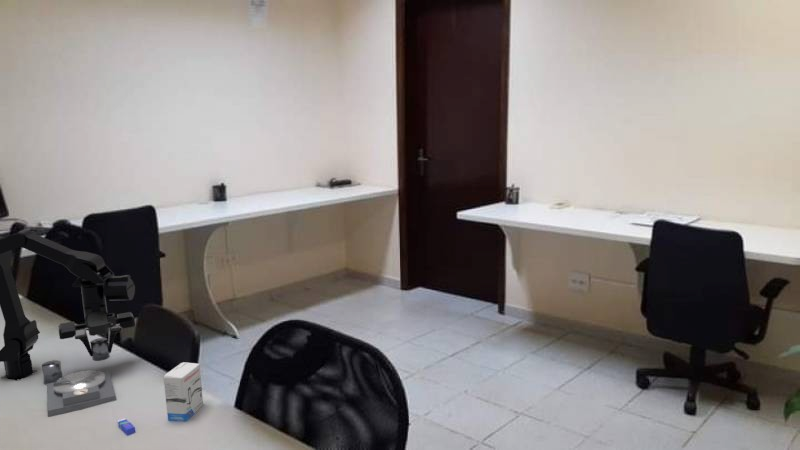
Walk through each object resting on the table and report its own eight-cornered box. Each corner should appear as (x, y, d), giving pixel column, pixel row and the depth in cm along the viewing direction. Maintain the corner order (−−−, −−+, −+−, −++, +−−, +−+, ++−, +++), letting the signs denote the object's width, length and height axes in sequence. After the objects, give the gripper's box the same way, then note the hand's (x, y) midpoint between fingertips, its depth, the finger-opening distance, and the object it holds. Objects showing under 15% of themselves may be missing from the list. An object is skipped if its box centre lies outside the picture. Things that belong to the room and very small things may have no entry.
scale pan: (53, 382, 163) (52, 377, 162) (103, 371, 169) (102, 366, 168) (54, 400, 153) (53, 395, 152) (107, 388, 158) (106, 383, 158)
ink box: (186, 425, 143) (181, 378, 141) (166, 423, 144) (162, 376, 142) (204, 407, 152) (200, 362, 149) (186, 405, 153) (182, 361, 150)
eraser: (126, 424, 144) (125, 417, 144) (136, 434, 140) (135, 426, 140) (117, 428, 143) (116, 420, 143) (127, 437, 139) (126, 429, 138)
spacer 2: (88, 359, 171) (86, 342, 170) (100, 353, 176) (98, 337, 175) (101, 361, 170) (99, 344, 169) (113, 355, 174) (111, 338, 173)
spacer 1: (40, 383, 166) (37, 365, 165) (53, 376, 170) (51, 359, 169) (53, 385, 165) (50, 367, 164) (66, 378, 169) (64, 361, 168)
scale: (47, 389, 163) (45, 375, 162) (110, 375, 170) (108, 363, 169) (48, 416, 148) (46, 402, 148) (116, 401, 156) (114, 387, 155)
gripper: (56, 315, 158) (63, 372, 161) (134, 302, 167) (140, 357, 170) (55, 303, 168) (62, 357, 171) (129, 292, 177) (135, 343, 180)
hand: (100, 354), depth 173 cm, fingers closed on spacer 2, 4 cm apart
